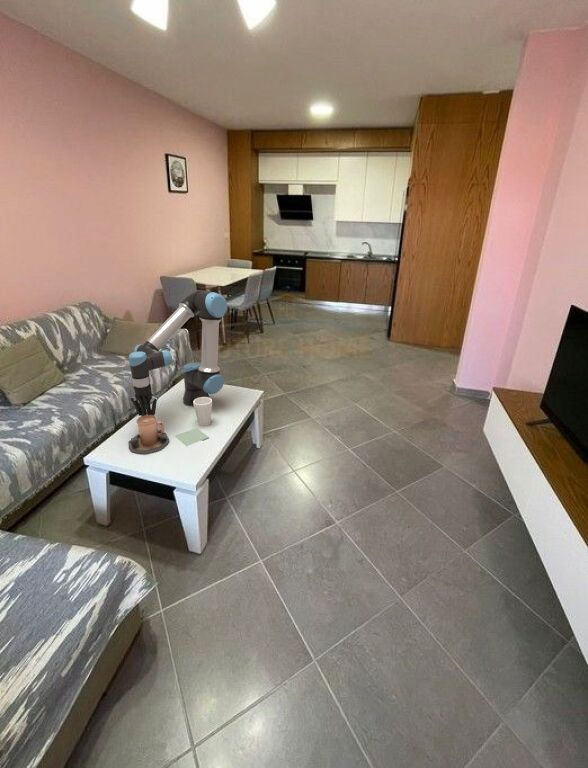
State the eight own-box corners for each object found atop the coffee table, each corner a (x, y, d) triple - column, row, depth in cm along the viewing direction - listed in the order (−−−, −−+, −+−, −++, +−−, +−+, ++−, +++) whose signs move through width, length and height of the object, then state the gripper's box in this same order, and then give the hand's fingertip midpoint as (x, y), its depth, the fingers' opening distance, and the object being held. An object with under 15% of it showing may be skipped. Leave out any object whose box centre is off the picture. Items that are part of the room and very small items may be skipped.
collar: (124, 432, 178) (122, 422, 176) (160, 424, 186) (158, 414, 184) (133, 457, 160) (131, 446, 157) (172, 446, 168) (170, 436, 166)
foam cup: (209, 428, 185) (207, 406, 180) (192, 426, 187) (190, 404, 182) (216, 419, 194) (214, 398, 189) (200, 417, 195) (198, 396, 190)
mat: (196, 428, 185) (196, 427, 185) (209, 438, 177) (209, 437, 177) (174, 436, 177) (174, 435, 177) (186, 447, 169) (186, 446, 169)
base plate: (159, 430, 182) (159, 429, 182) (176, 445, 170) (176, 444, 170) (122, 443, 171) (122, 442, 171) (138, 460, 159) (137, 459, 159)
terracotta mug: (141, 437, 175) (138, 415, 170) (166, 435, 177) (163, 413, 172) (138, 447, 167) (135, 424, 162) (164, 444, 170) (161, 422, 165)
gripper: (158, 382, 173) (164, 424, 182) (132, 380, 173) (139, 423, 183) (152, 388, 166) (158, 432, 176) (124, 387, 167) (132, 431, 176)
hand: (149, 427), depth 179 cm, fingers closed
